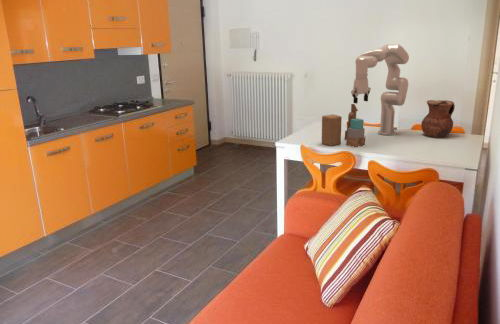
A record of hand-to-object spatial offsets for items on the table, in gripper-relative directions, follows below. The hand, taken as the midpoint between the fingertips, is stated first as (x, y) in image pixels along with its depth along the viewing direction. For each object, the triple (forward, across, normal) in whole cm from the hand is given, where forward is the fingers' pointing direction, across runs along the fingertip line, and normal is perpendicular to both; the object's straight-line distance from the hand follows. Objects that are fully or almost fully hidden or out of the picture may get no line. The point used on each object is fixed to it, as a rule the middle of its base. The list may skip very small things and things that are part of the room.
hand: (360, 102), depth 276 cm
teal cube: (+17, +4, +1) cm, 18 cm away
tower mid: (+23, +5, +1) cm, 24 cm away
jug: (+31, -60, +18) cm, 70 cm away
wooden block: (+29, +16, -12) cm, 35 cm away
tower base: (+29, +5, +1) cm, 30 cm away
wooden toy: (+30, -9, -14) cm, 34 cm away
